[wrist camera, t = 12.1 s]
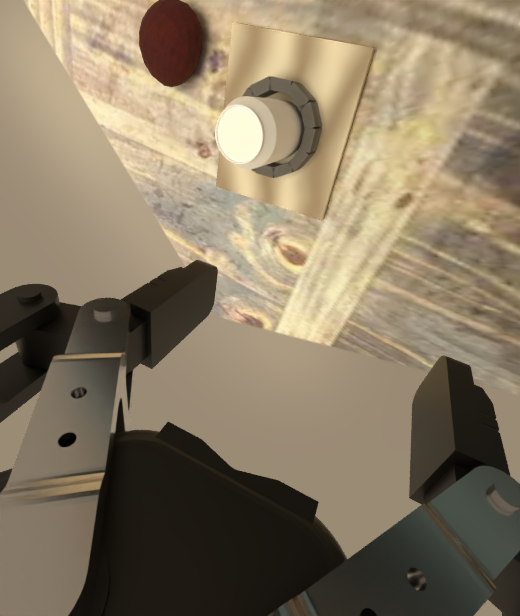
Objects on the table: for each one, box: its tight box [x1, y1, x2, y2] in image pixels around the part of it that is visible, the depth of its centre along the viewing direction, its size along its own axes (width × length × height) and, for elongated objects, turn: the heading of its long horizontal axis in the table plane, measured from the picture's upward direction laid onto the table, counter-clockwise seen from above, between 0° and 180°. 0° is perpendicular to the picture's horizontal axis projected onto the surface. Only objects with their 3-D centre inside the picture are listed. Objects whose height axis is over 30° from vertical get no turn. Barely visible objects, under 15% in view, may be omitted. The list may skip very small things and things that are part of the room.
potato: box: [139, 0, 202, 87], centre depth 38 cm, size 7×8×6 cm
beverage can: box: [215, 96, 305, 169], centre depth 35 cm, size 6×6×12 cm
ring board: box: [216, 22, 375, 220], centre depth 39 cm, size 16×18×4 cm
